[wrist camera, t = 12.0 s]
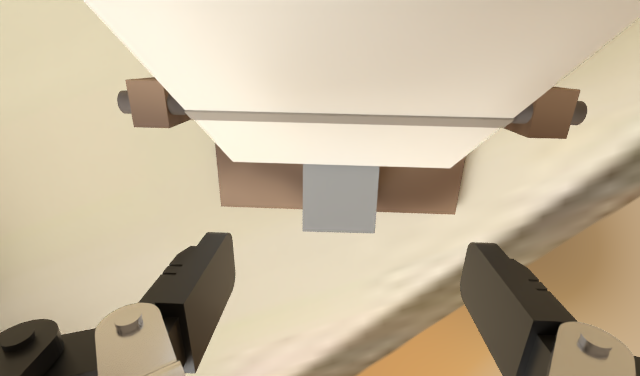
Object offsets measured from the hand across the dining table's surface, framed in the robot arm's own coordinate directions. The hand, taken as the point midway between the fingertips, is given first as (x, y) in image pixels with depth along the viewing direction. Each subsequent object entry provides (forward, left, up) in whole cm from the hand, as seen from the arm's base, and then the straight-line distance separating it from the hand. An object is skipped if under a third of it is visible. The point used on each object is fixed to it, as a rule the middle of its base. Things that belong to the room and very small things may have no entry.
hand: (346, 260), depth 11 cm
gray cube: (0, 0, -14) cm, 14 cm away
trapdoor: (-4, 0, -5) cm, 7 cm away
